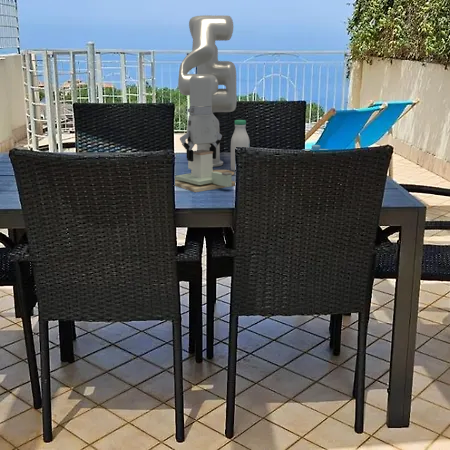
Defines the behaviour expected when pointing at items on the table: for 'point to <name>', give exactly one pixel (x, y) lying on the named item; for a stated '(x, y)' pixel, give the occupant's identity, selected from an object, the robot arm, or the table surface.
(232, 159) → the milk bottle
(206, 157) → the box with copper trim
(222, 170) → the mat
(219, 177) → the green piece
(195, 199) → the table surface
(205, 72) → the robot arm
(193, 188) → the stand
